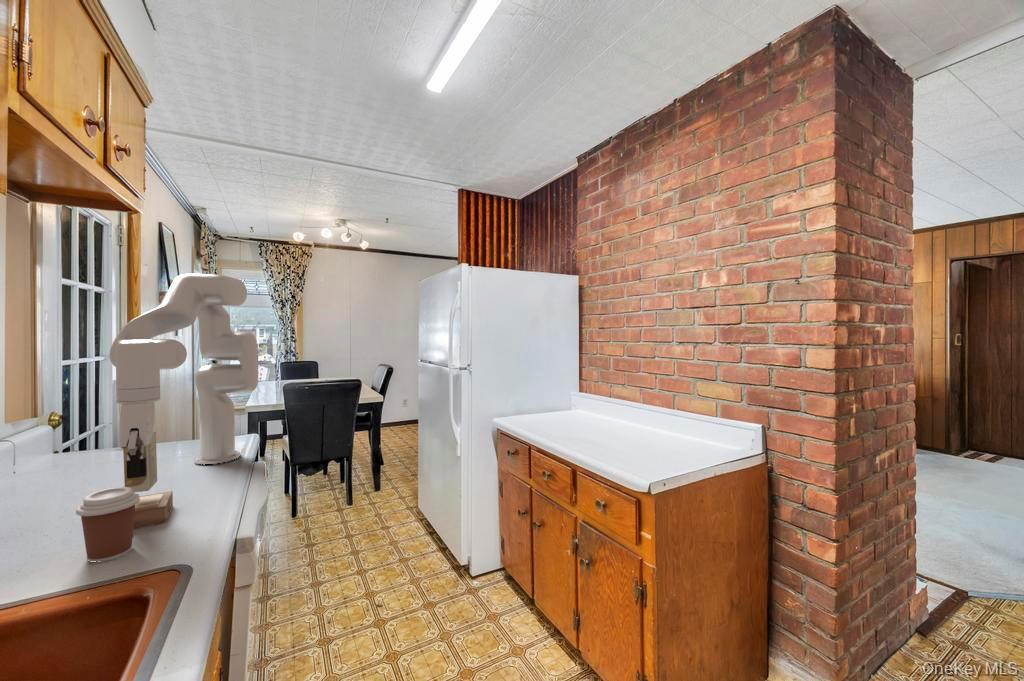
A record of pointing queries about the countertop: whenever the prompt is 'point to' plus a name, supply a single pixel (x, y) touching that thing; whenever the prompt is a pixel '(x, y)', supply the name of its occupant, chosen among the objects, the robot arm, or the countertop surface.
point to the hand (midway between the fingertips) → (140, 471)
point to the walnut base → (153, 509)
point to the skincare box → (151, 468)
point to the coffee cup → (108, 522)
